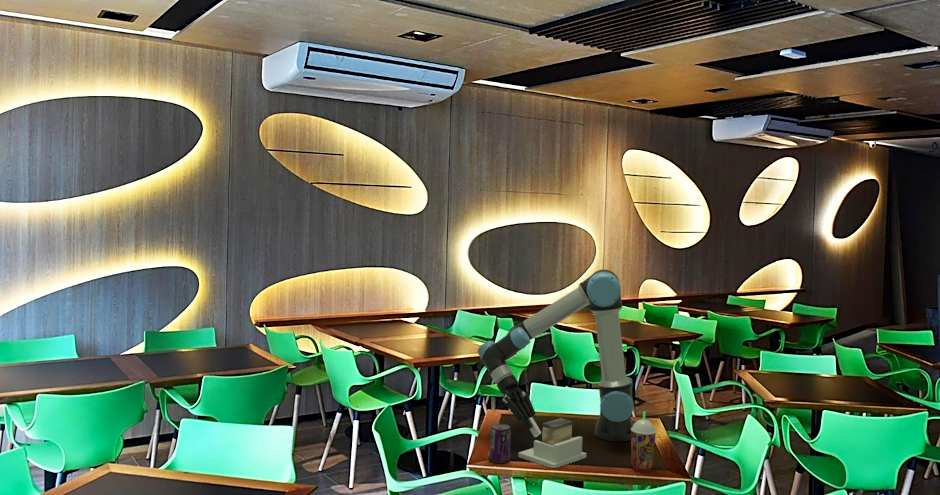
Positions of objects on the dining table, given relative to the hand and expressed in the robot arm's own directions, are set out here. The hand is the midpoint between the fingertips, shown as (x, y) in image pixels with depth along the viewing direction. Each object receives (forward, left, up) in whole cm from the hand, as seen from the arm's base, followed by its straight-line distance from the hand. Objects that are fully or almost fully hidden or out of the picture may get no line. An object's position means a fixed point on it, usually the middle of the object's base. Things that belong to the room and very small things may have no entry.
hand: (537, 435), depth 282 cm
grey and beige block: (-6, +6, -5) cm, 10 cm away
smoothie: (-35, +13, -7) cm, 38 cm away
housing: (-5, +4, -6) cm, 9 cm away
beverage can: (+13, +10, -7) cm, 18 cm away
